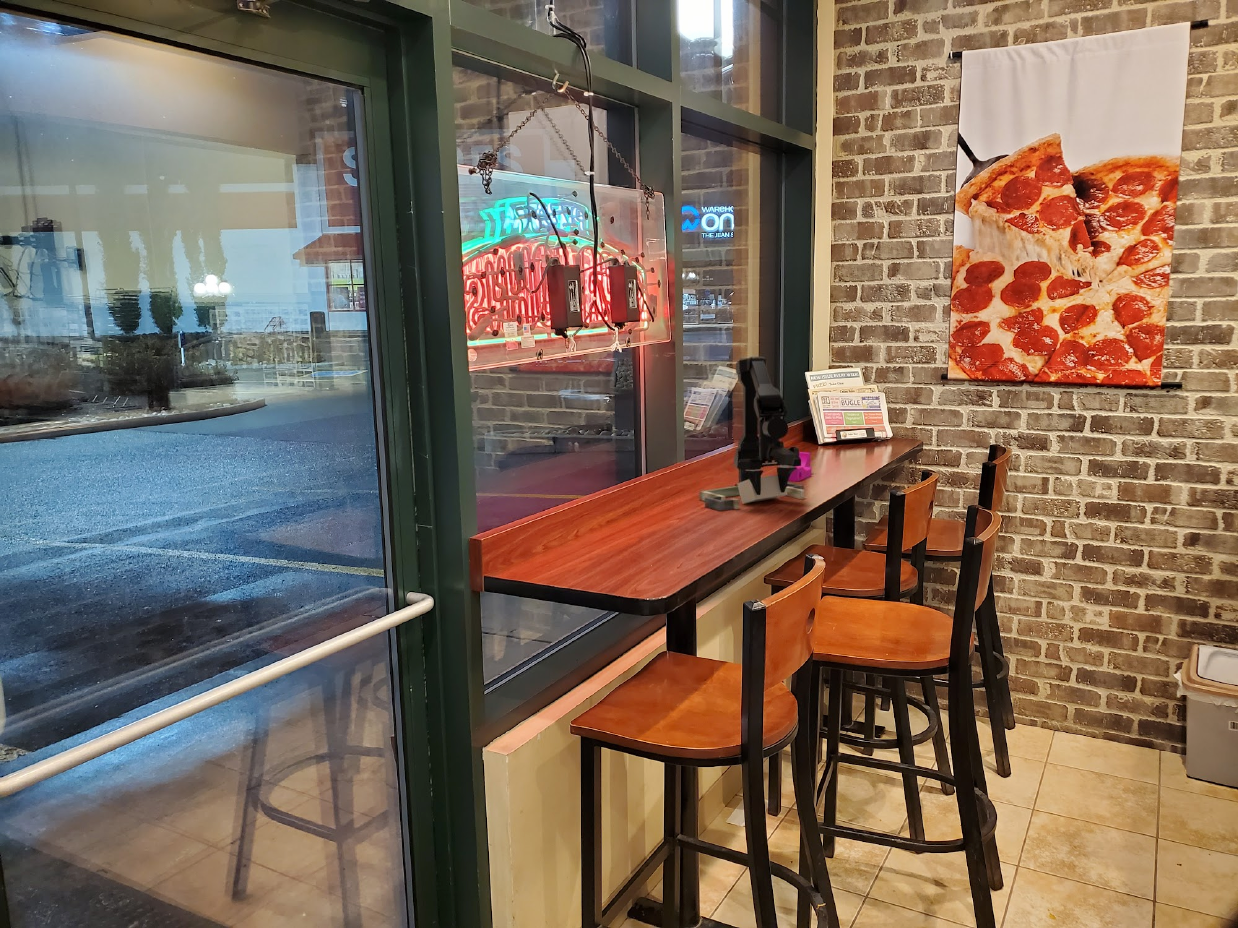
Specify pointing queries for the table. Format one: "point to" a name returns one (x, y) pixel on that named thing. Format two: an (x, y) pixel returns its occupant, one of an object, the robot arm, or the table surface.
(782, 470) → the robot arm
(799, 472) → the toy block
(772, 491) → the push block
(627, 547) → the table surface
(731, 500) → the trap lane
